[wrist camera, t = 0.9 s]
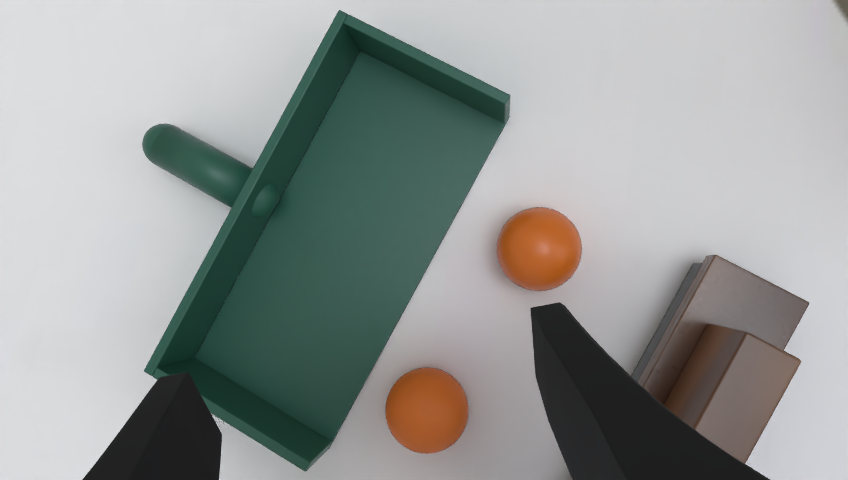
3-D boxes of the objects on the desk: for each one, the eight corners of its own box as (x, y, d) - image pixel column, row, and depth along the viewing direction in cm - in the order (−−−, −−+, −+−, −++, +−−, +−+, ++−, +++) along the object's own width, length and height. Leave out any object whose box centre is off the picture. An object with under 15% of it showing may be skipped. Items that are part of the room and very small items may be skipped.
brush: (783, 300, 24) (869, 307, 19) (626, 583, 24) (665, 678, 19) (696, 256, 25) (755, 250, 19) (544, 534, 25) (556, 611, 19)
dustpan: (509, 116, 26) (511, 95, 23) (328, 449, 26) (305, 472, 23) (253, -13, 28) (222, -49, 25) (84, 299, 28) (32, 302, 25)
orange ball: (484, 387, 26) (481, 402, 22) (446, 455, 26) (439, 481, 22) (416, 348, 26) (404, 358, 23) (379, 415, 26) (362, 435, 23)
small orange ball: (590, 234, 25) (603, 228, 22) (552, 304, 25) (559, 308, 22) (520, 198, 26) (522, 187, 23) (483, 266, 26) (480, 264, 23)
